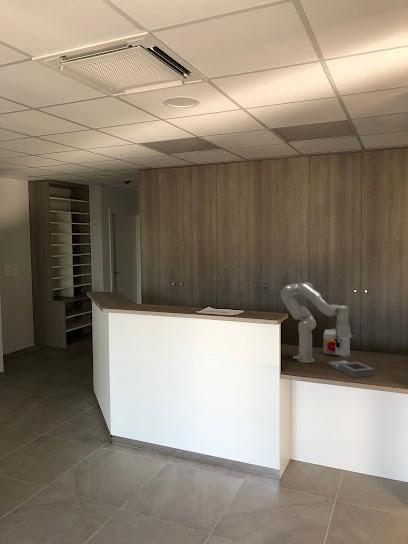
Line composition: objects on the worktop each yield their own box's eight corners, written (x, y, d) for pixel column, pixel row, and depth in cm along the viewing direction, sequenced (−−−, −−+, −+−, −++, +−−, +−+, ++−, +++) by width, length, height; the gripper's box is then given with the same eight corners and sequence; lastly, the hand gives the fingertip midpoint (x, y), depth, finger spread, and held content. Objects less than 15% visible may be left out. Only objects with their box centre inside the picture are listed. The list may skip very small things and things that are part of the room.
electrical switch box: (322, 358, 358) (322, 334, 354) (325, 351, 371) (325, 328, 367) (341, 360, 352) (341, 335, 348) (343, 352, 366) (343, 329, 362)
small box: (350, 355, 325) (350, 337, 324) (343, 356, 322) (343, 338, 321) (341, 353, 332) (341, 335, 331) (335, 354, 329) (335, 336, 328)
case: (353, 377, 301) (353, 371, 301) (326, 364, 333) (326, 358, 333) (374, 375, 305) (374, 368, 305) (345, 362, 338) (345, 356, 338)
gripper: (334, 324, 320) (334, 349, 321) (356, 322, 324) (356, 347, 326) (329, 322, 327) (329, 346, 328) (350, 321, 332) (350, 345, 333)
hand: (342, 346), depth 327 cm, fingers closed on small box, 7 cm apart
